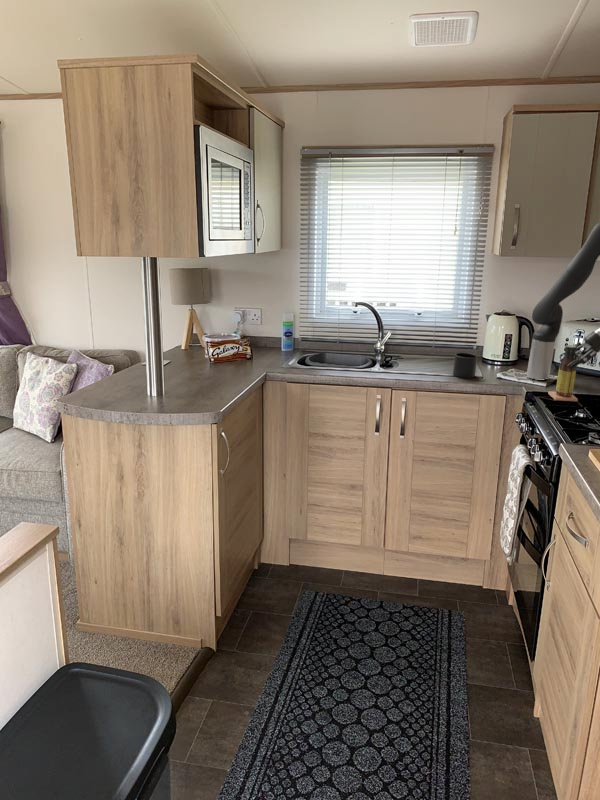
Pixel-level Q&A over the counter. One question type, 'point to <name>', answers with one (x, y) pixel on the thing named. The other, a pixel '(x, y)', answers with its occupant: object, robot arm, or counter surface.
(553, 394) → the coaster
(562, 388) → the sauce bottle
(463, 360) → the mug
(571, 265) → the robot arm
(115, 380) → the counter surface
